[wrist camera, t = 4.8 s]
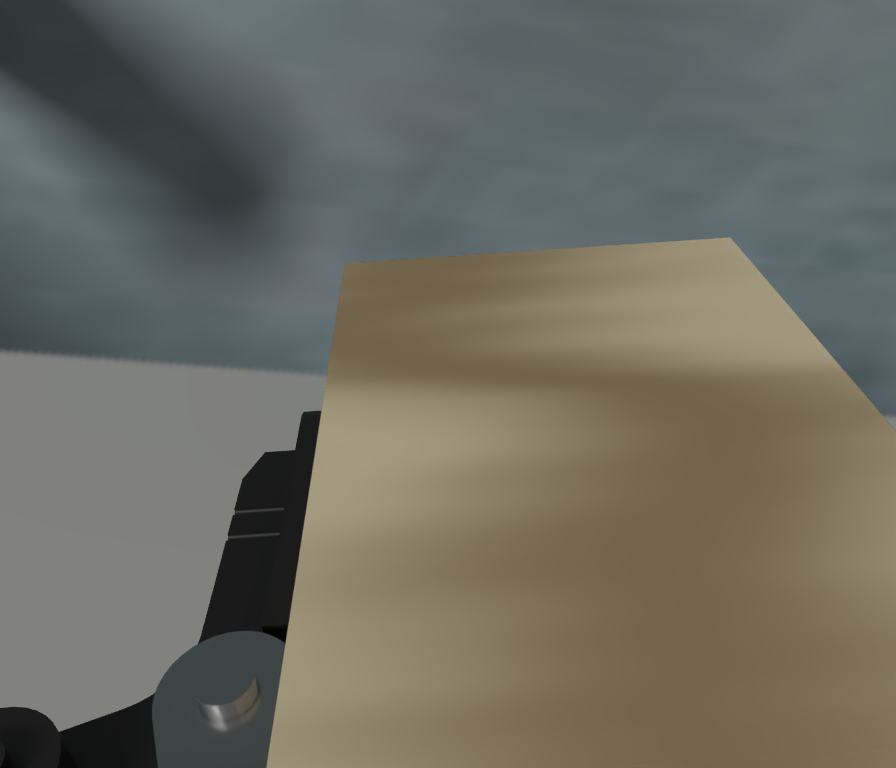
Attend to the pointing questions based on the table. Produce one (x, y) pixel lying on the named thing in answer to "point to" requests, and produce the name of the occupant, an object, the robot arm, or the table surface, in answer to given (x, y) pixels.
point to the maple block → (590, 524)
